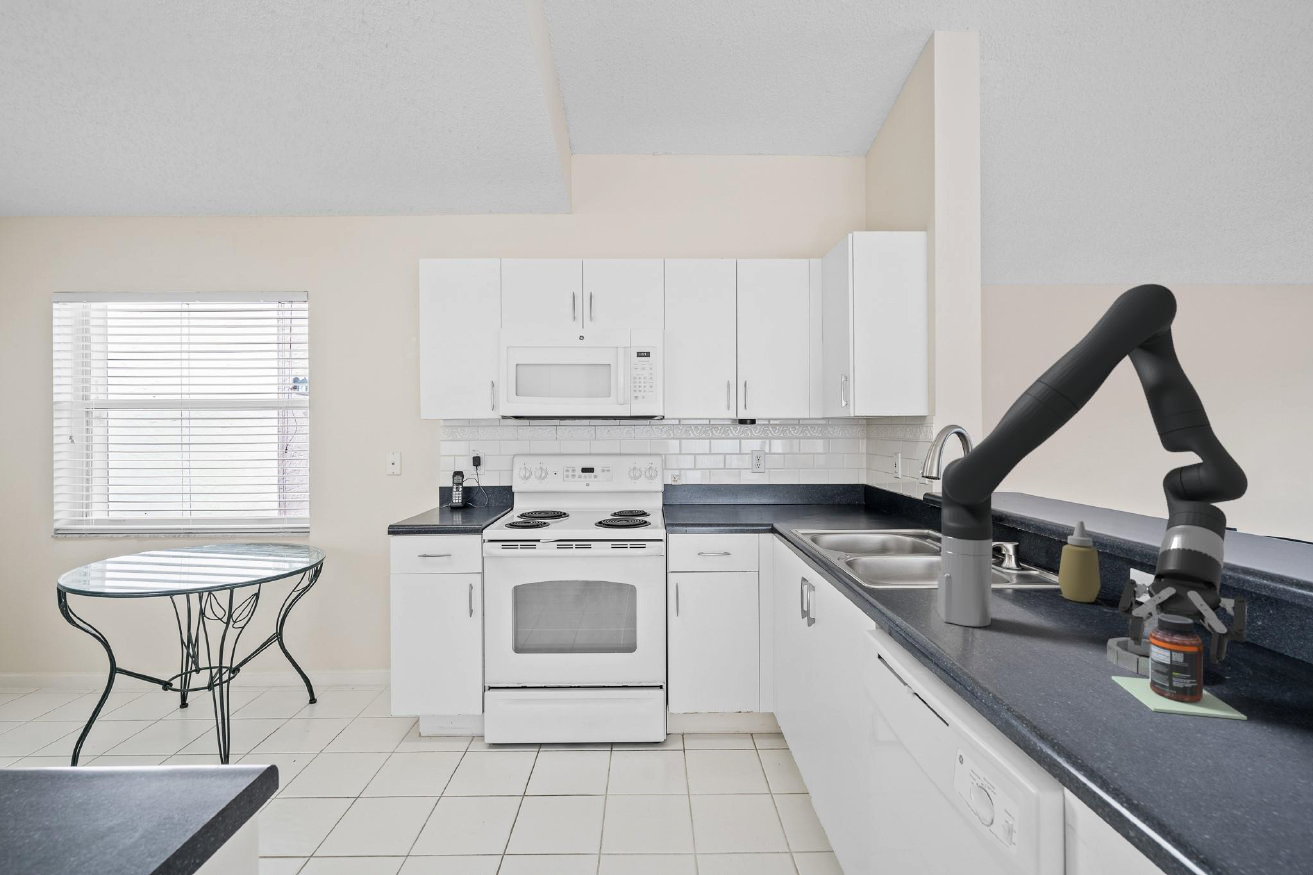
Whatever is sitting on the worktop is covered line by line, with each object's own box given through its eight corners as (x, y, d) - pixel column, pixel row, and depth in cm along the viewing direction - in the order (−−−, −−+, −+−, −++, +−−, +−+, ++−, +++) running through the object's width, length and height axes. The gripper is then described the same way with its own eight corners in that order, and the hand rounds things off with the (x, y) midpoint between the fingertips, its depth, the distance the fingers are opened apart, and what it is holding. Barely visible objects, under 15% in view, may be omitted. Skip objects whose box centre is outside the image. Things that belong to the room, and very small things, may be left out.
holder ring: (1131, 676, 95) (1132, 661, 95) (1093, 648, 107) (1094, 635, 107) (1220, 684, 92) (1220, 668, 92) (1171, 654, 104) (1172, 640, 104)
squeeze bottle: (1092, 596, 140) (1094, 519, 139) (1106, 606, 132) (1108, 525, 132) (1052, 592, 142) (1054, 517, 142) (1063, 602, 135) (1065, 523, 134)
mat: (1153, 711, 83) (1153, 708, 83) (1111, 678, 94) (1111, 675, 94) (1246, 719, 81) (1246, 717, 81) (1193, 685, 92) (1193, 682, 92)
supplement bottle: (1181, 686, 90) (1183, 612, 90) (1214, 704, 84) (1215, 625, 84) (1139, 684, 91) (1140, 611, 91) (1168, 702, 85) (1169, 623, 85)
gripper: (1129, 539, 98) (1109, 624, 90) (1252, 554, 87) (1240, 652, 79) (1136, 567, 101) (1117, 650, 94) (1254, 584, 90) (1243, 680, 83)
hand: (1173, 651), depth 87 cm, fingers open, 8 cm apart
